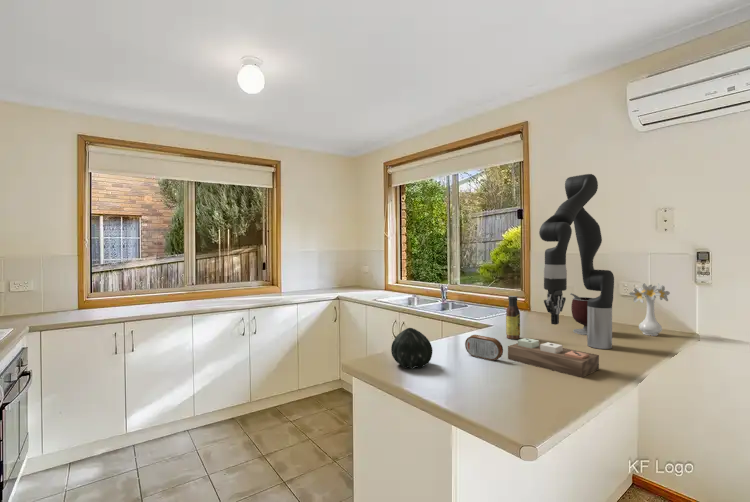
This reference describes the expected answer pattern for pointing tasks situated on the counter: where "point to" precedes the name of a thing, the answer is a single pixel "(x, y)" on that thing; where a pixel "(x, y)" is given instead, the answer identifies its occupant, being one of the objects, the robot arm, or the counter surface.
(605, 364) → the counter surface
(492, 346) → the tin
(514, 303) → the sauce bottle
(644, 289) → the flower vase
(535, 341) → the two dot button
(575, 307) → the mate gourd
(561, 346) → the one dot button
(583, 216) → the robot arm
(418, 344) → the squash
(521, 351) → the console
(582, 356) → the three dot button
